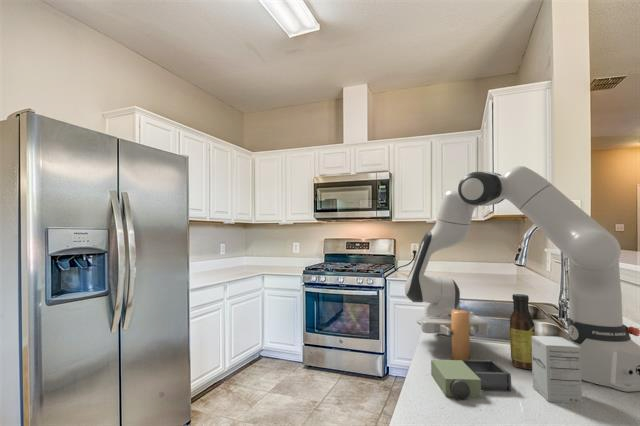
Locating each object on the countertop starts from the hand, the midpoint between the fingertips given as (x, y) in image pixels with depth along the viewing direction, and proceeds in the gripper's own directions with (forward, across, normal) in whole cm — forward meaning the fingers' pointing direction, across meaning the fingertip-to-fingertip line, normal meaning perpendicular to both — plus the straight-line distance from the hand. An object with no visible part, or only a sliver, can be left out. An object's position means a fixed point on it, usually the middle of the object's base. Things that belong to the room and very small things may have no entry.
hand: (461, 332), depth 102 cm
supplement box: (+21, +14, +8) cm, 27 cm away
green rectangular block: (+17, -8, +8) cm, 21 cm away
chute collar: (+15, 0, +8) cm, 17 cm away
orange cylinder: (-1, 0, +8) cm, 8 cm away
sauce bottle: (+3, +16, +8) cm, 18 cm away
